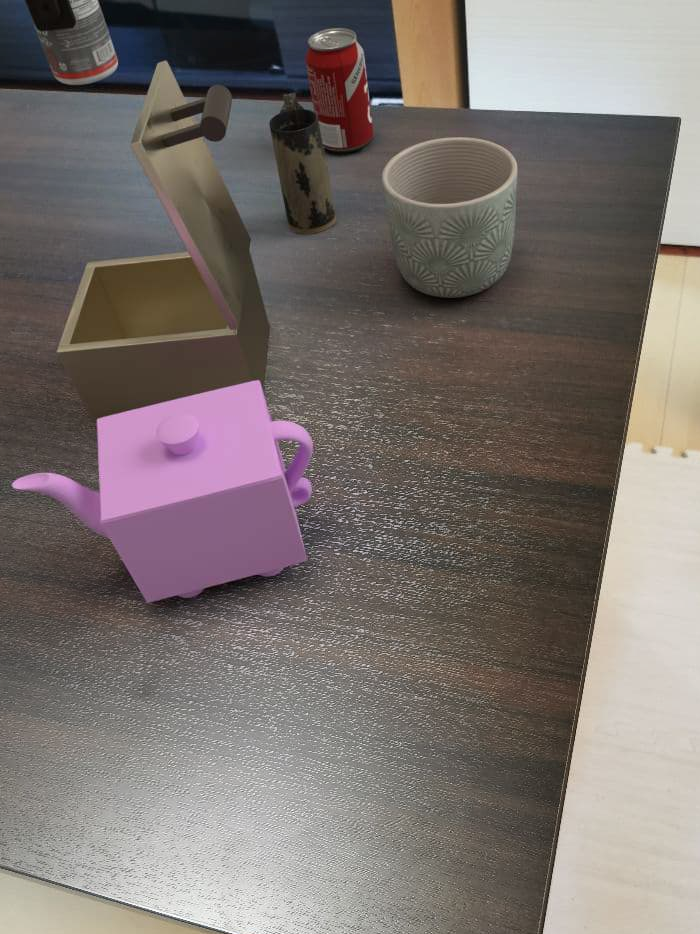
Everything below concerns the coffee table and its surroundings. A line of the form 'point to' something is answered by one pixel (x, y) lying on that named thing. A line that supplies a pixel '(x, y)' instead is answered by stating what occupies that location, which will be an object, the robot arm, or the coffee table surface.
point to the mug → (302, 168)
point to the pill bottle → (80, 46)
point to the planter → (451, 214)
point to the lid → (195, 184)
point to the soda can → (339, 89)
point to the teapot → (193, 491)
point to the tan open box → (157, 335)
